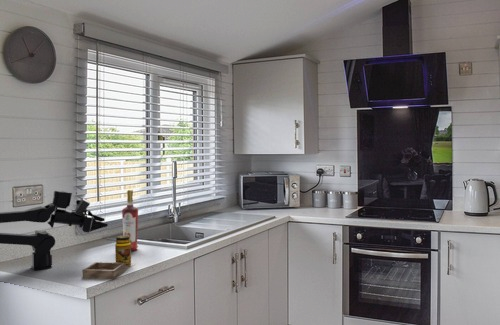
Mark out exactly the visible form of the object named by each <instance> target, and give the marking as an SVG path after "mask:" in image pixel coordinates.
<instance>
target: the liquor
mask: <svg viewBox="0 0 500 325" xmlns="http://www.w3.org/2000/svg"><path fill="white" fill-rule="evenodd" d="M133 194H134V190H133V189H127V190H126V196H127V198H126V206H125V207H124V208H122V209H121V217H122V219H121V220H122V232H123V236H129V237H130V243H131V252H133V251H137V249H138V248H139V245H138V225H139V208H137V207H135V206H134V200H133Z"/></svg>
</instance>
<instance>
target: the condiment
mask: <svg viewBox="0 0 500 325" xmlns="http://www.w3.org/2000/svg"><path fill="white" fill-rule="evenodd" d="M114 246H115V248H114V249H115V252H114V253H115V254H114V255H115V259H114V260H115V263H126V269H128V268H130V267H132V266H134V265H135V263H132V251H131V243H130V237H129V236H124V235H119V236H116V238H115V245H114Z"/></svg>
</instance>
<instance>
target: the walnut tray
mask: <svg viewBox="0 0 500 325" xmlns="http://www.w3.org/2000/svg"><path fill="white" fill-rule="evenodd" d="M126 269H127V268H126V263H116V262H107V261H105V262H103V261H95V262H93V263H91V264H90V265H89V266H86V267H84V268H83V269H81V270H82V279H100V280H101V279H103V280H115V279H116V278H117V277H119V276H121V275H122V274H123V273H124V272H126V271H127V270H126Z"/></svg>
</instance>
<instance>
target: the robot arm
mask: <svg viewBox="0 0 500 325" xmlns="http://www.w3.org/2000/svg"><path fill="white" fill-rule="evenodd" d="M72 196H73V193H72V192H71V191H64V190H61V191H60V190H53V197H52V202H50V203H49V204H47V205H44V206H36V207H32V208H29V209H26V210H15V211H4V212H3V211H2V212H0V224H4V223H6V224H7V223H17V222H31V223H41V224H42V223H46V222H47V224H48V225H49V226H50V227H51V229H52V228H54V225H55V224H60V225H68V226H69V227H72V226H77V227H79V228H81V230H82V232H83V233H87V234H88V233H89V234H90V232H93V231H97V230H100V229H103V228H107V227H109V226H108V225H109V224H108V223H107V222H104V221H105V218H104V217H102V216H99V215H96V214H93V213H92V211H91V210H90V209H89V208H88V207H90V204H91V202H90V201H89V200H87V199H85V198H83V197H82V198H80V199H79V198H78V199H76V201H75V204H76V206H75V208H74V209H73V208H72V209H70V210H67V208H68V207H70V205H71V199H72ZM2 244H3V245H21V246H30V247H31V249H32V252H31V266H30V267H31V268H32V270H33V271H38V270H39V271H40V270H45V269H47V270H48V269H52V268H53V267H52V266H53V255H52V254H51V250H52V249H53V247H54V246H55V244H56V239H55V237H54V236H53V235H52V234H51V233H49V232H47V231H46V230H44V231H42V230H34V233H31V234H24V233H10V232H9V233H7V232H0V245H2Z"/></svg>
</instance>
